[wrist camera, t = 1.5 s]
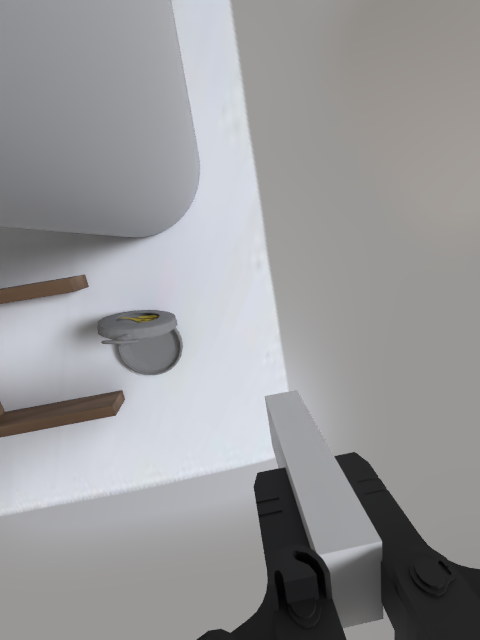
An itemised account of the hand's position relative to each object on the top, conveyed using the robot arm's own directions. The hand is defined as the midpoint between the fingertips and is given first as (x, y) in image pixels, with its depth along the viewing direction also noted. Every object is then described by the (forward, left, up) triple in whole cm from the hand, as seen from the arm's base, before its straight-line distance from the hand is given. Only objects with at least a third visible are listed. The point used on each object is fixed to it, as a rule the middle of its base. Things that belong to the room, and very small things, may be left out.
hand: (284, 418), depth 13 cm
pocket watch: (0, -10, -18) cm, 21 cm away
